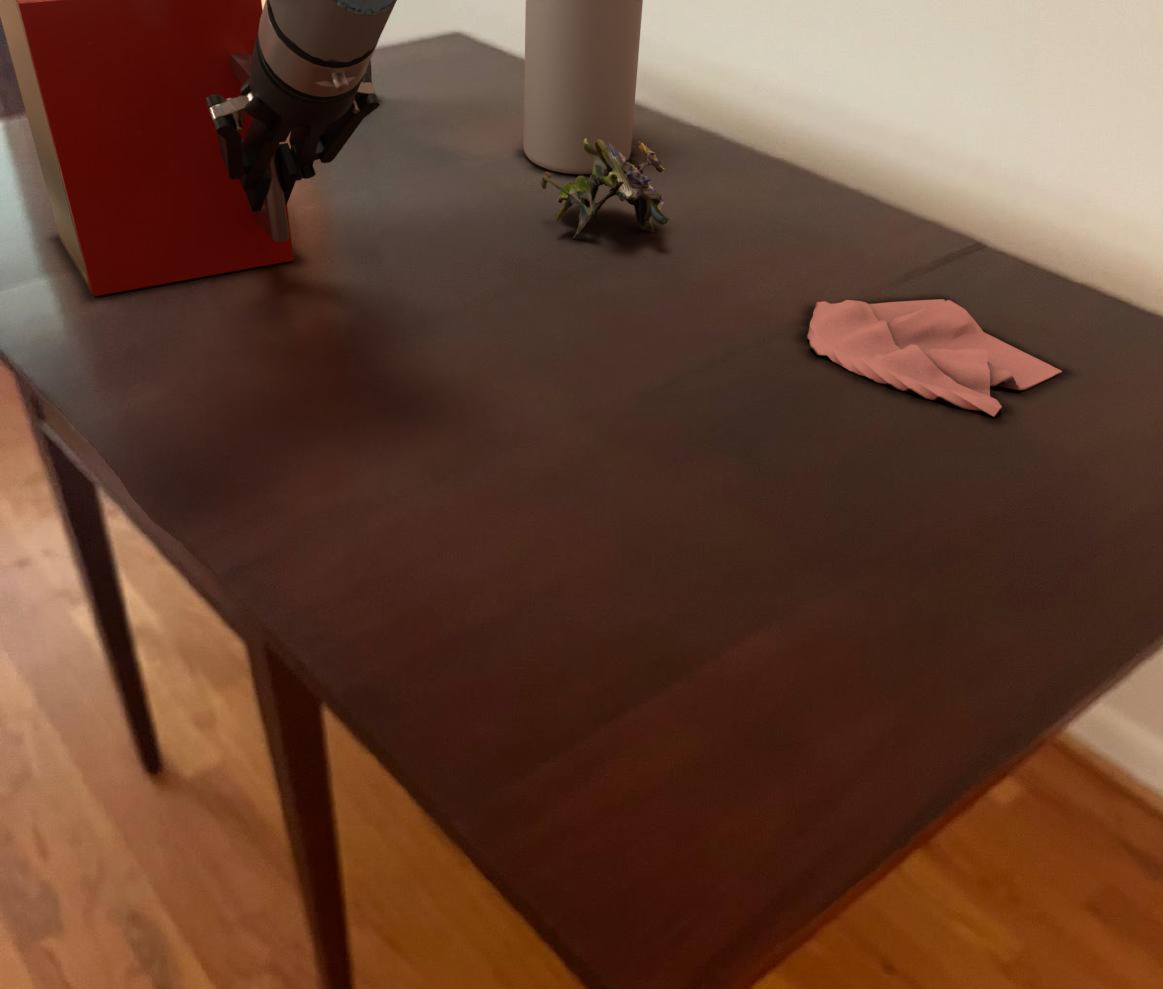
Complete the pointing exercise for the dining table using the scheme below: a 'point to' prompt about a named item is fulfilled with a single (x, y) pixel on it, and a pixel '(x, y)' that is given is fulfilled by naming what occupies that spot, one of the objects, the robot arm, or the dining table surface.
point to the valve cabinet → (40, 131)
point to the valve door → (152, 136)
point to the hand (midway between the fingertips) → (264, 194)
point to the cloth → (923, 350)
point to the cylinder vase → (579, 79)
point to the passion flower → (613, 186)
